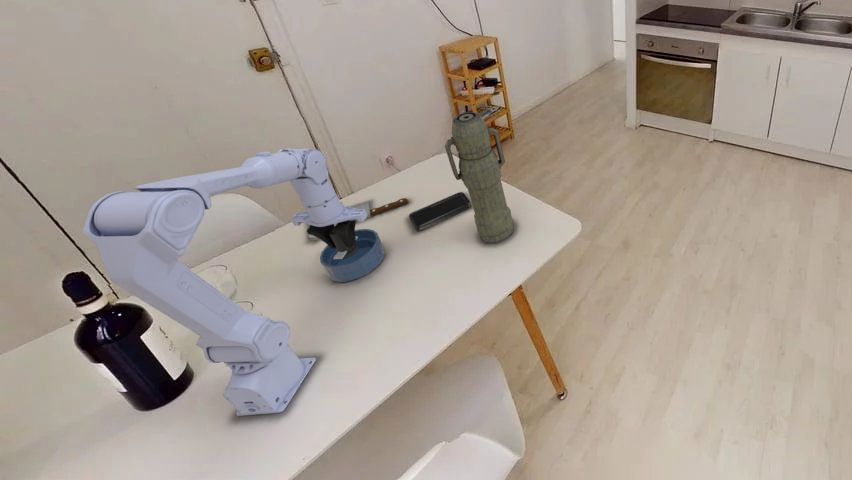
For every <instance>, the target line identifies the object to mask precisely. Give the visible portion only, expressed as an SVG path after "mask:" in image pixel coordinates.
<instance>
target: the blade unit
mask: <svg viewBox="0 0 852 480" xmlns="http://www.w3.org/2000/svg"><path fill="white" fill-rule="evenodd" d="M333 228H334V227H333ZM333 228H331V229H330V230H329V235H330V237H331V239H332V241H333V242H334V244H335V246H336V248H337V254H336V255H335V256H334V258H333V259H346V258H349V257H351V256H353V255H354V254H355V253H356V252H357V251H358V246H357V244H356V243H354V245H353V246H352V247H351V248H348V247H347V246H346V245H345V243H344V242H343V240H342V239H341V237H340V236H339V235H337V234H336V233H334V232H332V229H333ZM355 237H356V239H357V238H358V237H357V236H355Z"/></svg>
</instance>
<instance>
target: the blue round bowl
mask: <svg viewBox="0 0 852 480" xmlns="http://www.w3.org/2000/svg"><path fill="white" fill-rule="evenodd" d="M355 236H357V237H358V238H357V239H356V242H355V243H356V244H357V246H358V251H357V252H356V253H355V254H354V255H353V256H351V257H349V258H346V259H333V258H334V256H335V255H336V254H337V248H334V249H332V248H331V247H330V246H329V245H327V244H326V246H325V247H324V248H323V250H322V251H321V253H320V255H319V262H320V265H321V266H322V268H323V269H324V271H325V274H327V276H328V278H330V279H331V281H334V282H339V283H344V282H350V281H354V280H357V279H360V278H361V277H364V276H366V275H368V274H369V273H370V272H372V271H373V270H375V269H376V268H377V267H378V266H379V265H380V264H381V263H382V261H383V259H384V258H385V254H386V249H385V247H384V244H383V242H382V240H381V238H380V236H379V233H378V232H377V231H375V230H374V229H370V228H361V229H360V228H359V229H355Z"/></svg>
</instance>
